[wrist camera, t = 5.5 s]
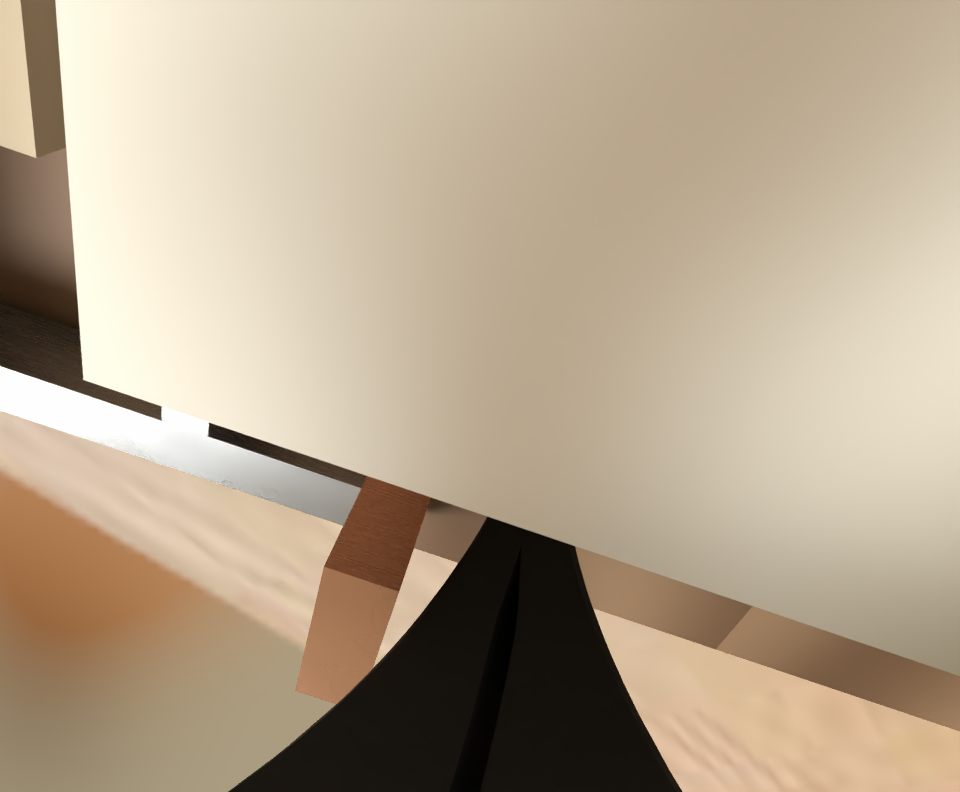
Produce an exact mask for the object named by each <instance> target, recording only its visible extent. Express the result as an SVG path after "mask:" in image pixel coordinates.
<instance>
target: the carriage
mask: <svg viewBox="0 0 960 792" xmlns="http://www.w3.org/2000/svg"><path fill="white" fill-rule="evenodd" d="M0 410H1V411H4V412H7V413H10V414H13V415H16V416H19V417H22V418H25V419H27V420H30V421H33V422H36V423H39V424H42V425H45V426H48V427H51V428H54V429H57V430H60V431H63V432H66V433H69V434H72V435H75V436H78V437H81V438H84V439H87V440H90V441H93V442H96V443H99V444H102V445H105V446H108V447H111V448H114V449H117V450H120V451H123V452H126V453H129V454H132V455H135V456H138V457H141V458H144V459H147V460H150V461H152V462H155V463H158V464H161V465H164V466H167V467H170V468H173V469H176V470H179V471H182V472H185V473H188V474H191V475H194V476H197V477H200V478H203V479H206V480H209V481H212V482H215V483H218V484H221V485H224V486H227V487H230V488H233V489H236V490H239V491H242V492H245V493H248V494H251V495H254V496H257V497H260V498H263V499H266V500H269V501H272V502H275V503H278V504H280V505H283V506H286V507H289V508H292V509H295V510H298V511H301V512H304V513H307V514H310V515H313V516H316V517H319V518H322V519H325V520H328V521H331V522H334V523H337V524H340V525H343V528H342V530H341V532H340V534H339V536H338V538H337V540H336V543H335V545H334V547H333V549H332V551H331V553H330V555H329V557H328V559H327V562H326V564H325V566H324V569H323V573H322V578H321V582H320V586H319V591H318V595H317V599H316V604H315V608H314V612H313V616H312V621H311V625H310V629H309V634H308V638H307V642H306V647H305V651H304V656H303V660H302V664H301V669H300V673H299V677H298V681H297V685H296V690H295V691H298V692H300V693H304V694H307V695H309V696H313V697H316V698H319V699H322V700H325V701H328V702H331V703H334V704H337V703H338V702H339V701H340V700H342V699H343V698H344V697H345V696H346V695H347V694H348V693H349V692H350V691H351V690H352V689H353V688H354V687H355V686H356V685H357V684H358V683H359V682H360V681H361V680H362V679H363V678H364V677H365V676H366V675H367V674H368V673H369V672H370V671H371V670H372V669H373V666H374V663H375V660H376V657H377V654H378V651H379V648H380V645H381V642H382V640H383V637H384V634H385V631H386V628H387V625H388V622H389V619H390V616H391V613H392V611H393V608H394V605H395V602H396V599H397V596H398V593H399V590H400V587H401V584H402V581H403V578H404V575H405V573H406V570H407V567H408V564H409V561H410V558H411V555H412V552H413V549H414V546H415V543H416V540H417V537H418V534H419V531H420V528H421V525H422V522H423V519H424V517H425V514H426V511H427V508H428V505H429V502H430V499H431V497H428V496H425V495H422V494H419V493H417V492H414V491H411V490H408V489H405V488H402V487H399V486H396V485H393V484H390V483H387V482H384V481H381V480H378V479H375V478H372V477H369V476H366V475H363V474H360V473H357V472H354V471H351V470H348V469H345V468H343V467H340V466H337V465H334V464H331V463H328V462H325V461H322V460H319V459H316V458H313V457H310V456H307V455H304V454H301V453H298V452H295V451H292V450H289V449H286V448H283V447H280V446H277V445H274V444H272V443H269V442H266V441H263V440H260V439H257V438H254V437H251V436H248V435H245V434H242V433H239V432H236V431H233V430H230V429H227V428H224V427H221V426H218V425H215V424H212V423H209V422H206V421H203V420H201V419H198V418H195V417H192V416H189V415H186V414H183V413H180V412H177V411H174V410H171V409H168V408H165V407H162V406H159V405H156V404H153V403H150V402H147V401H144V400H141V399H138V398H135V397H132V396H130V395H127V394H124V393H121V392H118V391H115V390H112V389H109V388H106V387H103V386H100V385H97V384H94V383H91V382H88V381H85V380H83V366H82V353H81V340H80V330H77V329H74V328H71V327H68V326H65V325H62V324H59V323H56V322H53V321H50V320H47V319H44V318H42V317H39V316H36V315H33V314H30V313H27V312H24V311H21V310H18V309H15V308H12V307H9V306H6V305H3V304H0Z"/></svg>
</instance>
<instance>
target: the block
mask: <svg viewBox="0 0 960 792" xmlns="http://www.w3.org/2000/svg"><path fill="white" fill-rule="evenodd" d="M0 146H3V147H6V148H9V149H12V150H14V151H17V152H20V153H23V154H26V155H29V156H32V157H35V158H38V157H41V156H43V155H46V154H49V153H52V152H55V151H58V150H60V149H63V148H66V138H65V124H64V111H63V97H62V84H61V70H60V57H59V43H58V30H57V17H56V3H55V0H0Z"/></svg>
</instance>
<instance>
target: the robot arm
mask: <svg viewBox="0 0 960 792" xmlns="http://www.w3.org/2000/svg"><path fill="white" fill-rule="evenodd" d="M229 792H682V790H681V789H680V787H679V785H678V784H677V782H676V780H675V779H674V777H673V775H672V774H671V772H670V771H669V769H668V767H667V765H666V763H665V761H664V760H663V758H662V756H661V754H660V752H659V750H658V749H657V747H656V745H655V743H654V741H653V739H652V738H651V736H650V734H649V732H648V730H647V729H646V727H645V725H644V723H643V721H642V719H641V718H640V716H639V714H638V712H637V710H636V708H635V706H634V704H633V702H632V699H631V697H630V695H629V693H628V691H627V689H626V687H625V685H624V683H623V681H622V679H621V676H620V674H619V672H618V670H617V667H616V665H615V663H614V661H613V658H612V656H611V654H610V651H609V649H608V647H607V644H606V642H605V639H604V637H603V634H602V631H601V629H600V626H599V623H598V621H597V618H596V615H595V613H594V610H593V607H592V604H591V601H590V598H589V595H588V592H587V588H586V585H585V582H584V578H583V575H582V571H581V568H580V565H579V561H578V556H577V552H576V548H575V546H573V545H570V544H567V543H564V542H561V541H559V540H556V539H553V538H550V537H547V536H544V535H541V534H538V533H535V532H532V531H529V530H526V529H523V528H520V527H517V526H514V525H511V524H508V523H505V522H502V521H499V520H496V519H493V518H490V517H488V516H487V518H486V520H485V522H484V523H483V525H482V527H481V529H480V530H479V532H478V533H477V535H476V537H475V538H474V540H473V542H472V543H471V545H470V546H469V548H468V549H467V551H466V552H465V554H464V555H463V557H462V558H461V560H460V561H459V563H458V564H457V566H456V567H455V569H454V570H453V572H452V573H451V575H450V576H449V578H448V579H447V580H446V582H445V583H444V585H443V586H442V587H441V589H440V590H439V591H438V592H437V594H436V595H435V596H434V598H433V599H432V600H431V602H430V603H429V604H428V606H427V607H426V608H425V610H424V611H423V612H422V613H421V615H420V616H419V617H418V618H417V620H416V621H415V622H414V623H413V625H412V626H411V627H410V628H409V629H408V631H407V632H406V633H405V634H404V635H403V636H402V637H401V639H400V640H399V641H398V642H397V643H396V644H395V645H394V646H393V648H392V649H391V650H390V651H389V652H388V653H387V654H386V655H385V656H384V658H383V659H382V660H381V661H380V662H379V663H378V664H377V665H376V666H375V667H374V668H373V669H372V670H371V671H370V672H369V673H368V674H367V675H366V676H365V677H364V678H363V679H362V680H361V681H360V682H359V683H358V684H357V685H356V686H355V687H354V688H353V689H352V690H351V691H350V692H349V693H348V694H347V695H346V696H345V697H344V698H343V699H342V700H340V701H339V702H338V703H337V704H336V705H335V706H334V707H333V708H332V709H331V710H330V711H328V712H327V713H326V714H325V715H324V716H323V717H321V718H320V719H319V720H318V721H317V722H316V723H314V724H313V725H312V726H311V727H310V728H309V729H308V730H306V731H305V732H304V733H303V734H302V735H301V736H299V737H298V738H297V739H296V740H295V741H294V742H292V743H291V744H290V745H289V746H288V747H286V748H285V749H284V750H283V751H282V752H280V753H279V754H278V755H276V756H275V757H274V758H273V759H271V760H270V761H269V762H267V763H266V764H265V765H263V766H262V767H261V768H259V769H258V770H257V771H255V772H254V773H253V774H251V775H250V776H249V777H247V778H246V779H245V780H243V781H242V782H241V783H239V784H238V785H237V786H235V787H234V788H233V789H231V790H230V791H229Z"/></svg>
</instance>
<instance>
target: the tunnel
mask: <svg viewBox="0 0 960 792" xmlns="http://www.w3.org/2000/svg"><path fill="white" fill-rule="evenodd" d="M55 3H56V17H57V30H58V43H59V57H60V70H61V84H62V97H63V111H64V124H65V138H66V148H63V149H60V150H58V151H55V152H52V153H49V154H46V155H43V156H41V157H38V158H35V157H32V156H29V155H26V154H23V153H20V152H17V151H14V150H12V149H9V148H6V147H3V146H0V304H3V305H6V306H9V307H12V308H15V309H18V310H21V311H24V312H27V313H30V314H33V315H36V316H39V317H42V318H44V319H47V320H50V321H53V322H56V323H59V324H62V325H65V326H68V327H71V328H74V329H77V330H80V340H81V353H82V366H83V380H85V381H88V382H91V383H94V384H97V385H100V386H103V387H106V388H109V389H112V390H115V391H118V392H121V393H124V394H127V395H130V396H132V397H135V398H138V399H141V400H144V401H147V402H150V403H153V404H156V405H159V406H162V407H165V408H168V409H171V410H174V411H177V412H180V413H183V414H186V415H189V416H192V417H195V418H198V419H201V420H203V421H206V422H209V423H212V424H215V425H218V426H221V427H224V428H227V429H230V430H233V431H236V432H239V433H242V434H245V435H248V436H251V437H254V438H257V439H260V440H263V441H266V442H269V443H272V444H274V445H277V446H280V447H283V448H286V449H289V450H292V451H295V452H298V453H301V454H304V455H307V456H310V457H313V458H316V459H319V460H322V461H325V462H328V463H331V464H334V465H337V466H340V467H343V468H345V469H348V470H351V471H354V472H357V473H360V474H363V475H366V476H369V477H372V478H375V479H378V480H381V481H384V482H387V483H390V484H393V485H396V486H399V487H402V488H405V489H408V490H411V491H414V492H417V493H419V494H422V495H425V496H428V497H431V499H430V502H429V505H428V508H427V511H426V514H425V517H424V519H423V522H422V525H421V528H420V531H419V534H418V537H417V540H416V543H415V546H414V548H416V549H419V550H422V551H425V552H428V553H431V554H434V555H437V556H440V557H443V558H446V559H449V560H452V561H455V562H457V563H459V561H460V560H461V558H462V557H463V555H464V554H465V552H466V551H467V549H468V548H469V546H470V545H471V543H472V542H473V540H474V538H475V537H476V535H477V533H478V532H479V530H480V529H481V527H482V525H483V523H484V522H485V520H486V518H487V516H488V517H490V518H493V519H496V520H499V521H502V522H505V523H508V524H511V525H514V526H517V527H520V528H523V529H526V530H529V531H532V532H535V533H538V534H541V535H544V536H547V537H550V538H553V539H556V540H559V541H561V542H564V543H567V544H570V545H573V546H575V548H576V552H577V556H578V561H579V565H580V568H581V571H582V575H583V578H584V582H585V585H586V588H587V592H588V595H589V598H590V601H591V604H592V607H593V608H594V609H597V610H600V611H603V612H606V613H609V614H612V615H615V616H618V617H621V618H624V619H627V620H630V621H633V622H636V623H639V624H642V625H645V626H648V627H651V628H654V629H657V630H660V631H663V632H666V633H669V634H672V635H675V636H678V637H681V638H684V639H687V640H690V641H693V642H696V643H699V644H702V645H704V646H707V647H710V648H713V649H716V650H719V651H722V652H725V653H728V654H731V655H734V656H737V657H740V658H743V659H746V660H749V661H752V662H755V663H758V664H761V665H764V666H767V667H770V668H773V669H776V670H779V671H782V672H785V673H788V674H791V675H794V676H797V677H800V678H803V679H806V680H809V681H812V682H815V683H818V684H821V685H824V686H827V687H829V688H832V689H835V690H838V691H841V692H844V693H847V694H850V695H853V696H856V697H859V698H862V699H865V700H868V701H871V702H874V703H877V704H880V705H883V706H886V707H889V708H892V709H895V710H898V711H901V712H904V713H907V714H910V715H913V716H916V717H919V718H922V719H925V720H928V721H931V722H934V723H937V724H940V725H943V726H946V727H949V728H952V729H954V730H957V731H960V0H55Z"/></svg>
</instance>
